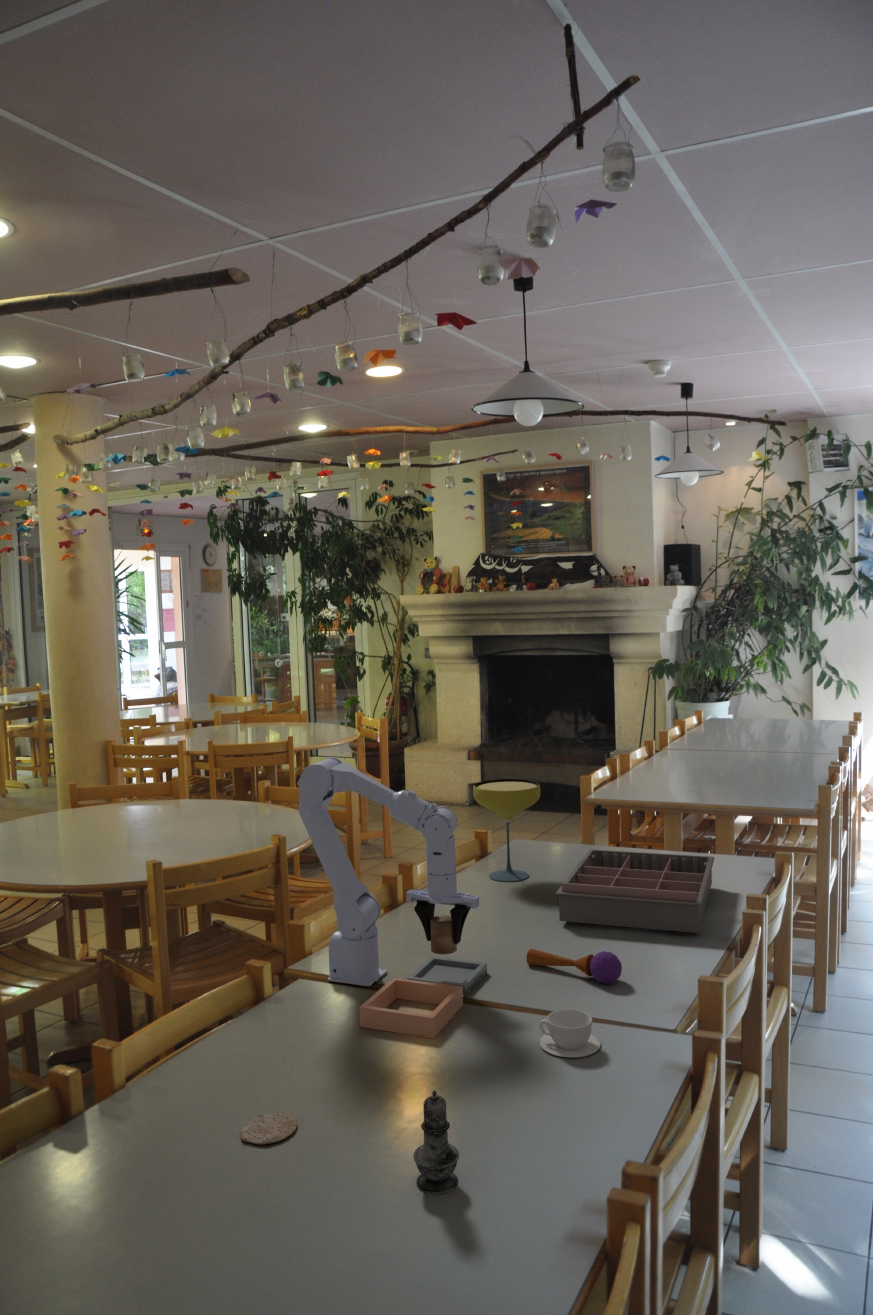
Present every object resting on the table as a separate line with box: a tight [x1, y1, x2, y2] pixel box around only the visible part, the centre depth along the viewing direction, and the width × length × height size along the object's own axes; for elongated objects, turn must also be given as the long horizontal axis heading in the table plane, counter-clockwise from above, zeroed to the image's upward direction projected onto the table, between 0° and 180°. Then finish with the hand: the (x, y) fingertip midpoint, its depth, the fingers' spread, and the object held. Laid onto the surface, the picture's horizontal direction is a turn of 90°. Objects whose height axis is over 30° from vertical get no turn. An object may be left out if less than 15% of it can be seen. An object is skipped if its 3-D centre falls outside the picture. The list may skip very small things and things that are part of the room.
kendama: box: [525, 948, 623, 985], centre depth 186 cm, size 6×6×20 cm
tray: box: [406, 955, 488, 997], centre depth 185 cm, size 12×12×2 cm
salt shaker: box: [412, 1089, 460, 1196], centre depth 120 cm, size 6×6×12 cm
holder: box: [358, 977, 464, 1039], centre depth 169 cm, size 14×14×4 cm
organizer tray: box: [555, 849, 715, 934], centre depth 227 cm, size 32×40×10 cm
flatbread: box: [240, 1112, 298, 1146], centre depth 133 cm, size 8×8×1 cm
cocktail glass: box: [472, 778, 541, 883], centre depth 255 cm, size 18×18×25 cm
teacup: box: [539, 1008, 601, 1058], centre depth 156 cm, size 10×10×5 cm
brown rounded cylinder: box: [430, 914, 458, 955], centre depth 183 cm, size 5×5×6 cm
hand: (443, 941), depth 183 cm, fingers closed on brown rounded cylinder, 5 cm apart
